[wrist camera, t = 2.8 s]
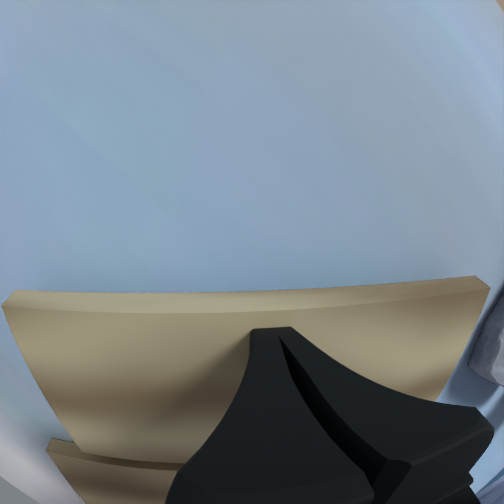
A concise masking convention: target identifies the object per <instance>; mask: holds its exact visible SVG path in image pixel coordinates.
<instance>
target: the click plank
mask: <svg viewBox="0 0 504 504" xmlns="http://www.w3.org/2000/svg"><path fill="white" fill-rule="evenodd" d="M489 290H490V287H489V286H488V285H487V284H485V283H484V282H483V281H481V280H480V279H479V278H478V277H476V276H466V277H457V278H447V279H437V280H426V281H415V282H403V283H391V284H378V285H364V286H349V287H333V288H315V289H295V290H271V291H243V292H201V293H96V292H57V291H31V290H15V291H14V292H13V293H12V294H11V295H10V296H9V298H8V299H7V300H6V301H5V302H4V303H3V304H2V305H1V306H2V309H3V312H4V314H5V317H6V319H7V322H8V324H9V327H10V329H11V331H12V334H13V336H14V338H15V341H16V343H17V345H18V347H19V349H20V351H21V353H22V355H23V358H24V360H25V362H26V364H27V366H28V367H29V369H30V371H31V373H32V375H33V377H34V379H35V381H36V382H37V384H38V386H39V388H40V390H41V391H42V393H43V395H44V396H45V398H46V400H47V401H48V403H49V405H50V406H51V408H52V409H53V411H54V413H55V414H56V416H57V417H58V419H59V420H60V422H61V423H62V425H63V426H64V428H65V429H66V431H67V432H68V433H69V435H70V436H71V438H72V439H73V440H74V442H75V443H76V445H77V446H78V447H79V449H80V450H81V451H82V452H84V453H89V454H95V455H101V456H107V457H114V458H121V459H129V460H138V461H149V462H163V463H186V462H187V461H188V460H189V459H190V458H191V457H192V456H193V455H194V454H195V453H196V452H197V451H198V450H199V449H200V447H201V446H202V445H203V444H204V443H205V441H206V440H207V439H208V437H209V436H210V435H211V433H212V432H213V431H214V430H215V428H216V427H217V426H218V424H219V423H220V421H221V420H222V418H223V416H224V415H225V413H226V411H227V410H228V408H229V406H230V404H231V403H232V401H233V399H234V397H235V395H236V393H237V390H238V388H239V386H240V384H241V381H242V378H243V375H244V372H245V370H246V367H247V363H248V359H249V350H250V331H251V330H252V329H255V328H273V327H288V326H291V327H292V328H294V329H295V330H296V331H298V332H299V333H300V334H301V335H302V336H304V337H305V338H306V339H308V340H309V341H310V342H311V343H313V344H314V345H315V346H317V347H318V348H319V349H321V350H322V351H323V352H325V353H326V354H327V355H329V356H330V357H332V358H333V359H335V360H336V361H338V362H339V363H341V364H343V365H344V366H346V367H347V368H349V369H351V370H352V371H354V372H356V373H358V374H360V375H362V376H364V377H366V378H368V379H370V380H372V381H374V382H376V383H378V384H380V385H383V386H385V387H388V388H390V389H393V390H396V391H399V392H401V393H404V394H407V395H411V396H414V397H417V398H421V399H425V400H430V401H434V402H435V401H436V400H437V398H438V396H439V395H440V393H441V391H442V390H443V388H444V386H445V385H446V383H447V381H448V379H449V378H450V376H451V374H452V372H453V370H454V368H455V367H456V365H457V363H458V361H459V359H460V357H461V355H462V353H463V351H464V349H465V347H466V345H467V343H468V341H469V338H470V336H471V334H472V332H473V330H474V327H475V325H476V323H477V321H478V318H479V316H480V313H481V311H482V308H483V306H484V303H485V301H486V298H487V295H488V293H489Z"/></svg>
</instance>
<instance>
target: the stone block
mask: <svg viewBox="0 0 504 504" xmlns="http://www.w3.org/2000/svg"><path fill="white" fill-rule="evenodd" d="M468 366H469V367H470V368H471V369H472V370H473V371H474V372H475V374H477V375H480V376H482V377H484V378H486V379H487V380H489V381H492V382H494V383H495V384H498V385H500V386H502V387H504V293H503V294H502V296H501V297H500V299H499V301H498V303H497V304H496V306H495V308H494V309H493V311H492V312H491V314H490V315H489V316H488V318H487V319H486V321H485V323H484V325H483V329H482V331H481V334H480V336H479V338H478V341H477V343H476V346H475V348H474V350H473V353H472V355H471V358H470V361H469V365H468Z"/></svg>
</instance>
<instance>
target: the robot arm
mask: <svg viewBox="0 0 504 504" xmlns="http://www.w3.org/2000/svg"><path fill="white" fill-rule="evenodd" d="M493 435H494V427H493V426H492V425H491V424H490V423H489V422H488V420H487V419H486V418H485V417H484V416H483V415H482V414H481V413H480V412H479V411H478V409H477V408H475V407H468V406H459V405H451V404H444V403H438V402H434V401H430V400H425V399H421V398H417V397H414V396H411V395H407V394H404V393H401V392H399V391H396V390H393V389H390V388H388V387H385V386H383V385H380V384H378V383H376V382H374V381H372V380H370V379H368V378H366V377H364V376H362V375H360V374H358V373H356V372H354V371H352V370H351V369H349V368H347V367H346V366H344V365H343V364H341V363H339V362H338V361H336V360H335V359H333V358H332V357H330V356H329V355H327V354H326V353H325V352H323V351H322V350H321V349H319V348H318V347H317V346H315V345H314V344H313V343H311V342H310V341H309V340H308V339H306V338H305V337H304V336H302V335H301V334H300V333H299V332H298V331H296V330H295V329H294V328H292V327H291V326H288V327H273V328H255V329H252V330H251V331H250V350H249V359H248V363H247V367H246V370H245V372H244V375H243V378H242V381H241V384H240V386H239V388H238V390H237V393H236V395H235V397H234V399H233V401H232V403H231V404H230V406H229V408H228V410H227V411H226V413H225V415H224V416H223V418H222V420H221V421H220V423H219V424H218V426H217V427H216V428H215V430H214V431H213V432H212V433H211V435H210V436H209V437H208V439H207V440H206V441H205V443H204V444H203V445H202V446H201V447H200V449H199V450H198V451H197V452H196V453H195V454H194V455H193V456H192V457H191V458H190V459H189V460H188V461H187V462H186V463H185V464H184V465H183V466H182V467H181V468H180V469H179V470H178V471H177V473H176V475H175V477H174V480H173V482H172V484H171V487H170V489H169V492H168V494H167V497H166V500H165V504H504V475H503V476H502V477H501V478H499V479H498V480H497V481H495V482H494V483H493V484H491V485H490V486H488V487H487V488H486V489H484V490H483V491H481V492H480V493H478V494H477V495H475V494H474V492H473V491H472V489H471V488H470V486H469V485H471V484H472V483H473V478H472V476H471V475H470V474H469V471H470V470H471V468H472V467H473V466H474V465H475V463H476V462H477V461H478V460H479V458H480V457H481V456H482V454H483V453H484V452H485V450H486V449H487V447H488V446H489V444H490V443H491V441H492V438H493Z"/></svg>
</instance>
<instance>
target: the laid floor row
mask: <svg viewBox="0 0 504 504" xmlns="http://www.w3.org/2000/svg"><path fill="white" fill-rule="evenodd" d="M46 451H47V453H48V454H49V456H50V457H51V459H52V460H53V462H54V463H55V465H56V466H57V467H58V469H59V470H60V472H61V473H62V474H63V476H64V477H65V478H66V480H67V481H68V482H69V484H70V485H71V486H72V488H73V489H74V490H75V491H76V493H77V494H78V495H79V496H80V497H81V499H82V500H83V501H84V502H85V503H86V504H165V500H166V497H167V494H168V492H169V489H170V487H171V484H172V482H173V480H174V477H175V475H176V473H177V471H178V470H179V469H180V468H181V467H182V466H183V465H184V464H185V463H163V462H149V461H138V460H129V459H121V458H114V457H107V456H101V455H95V454H89V453H84V452H82V451H81V450H80V449H79V447H78V446H77V445H76V443H71V442H67V441H62V440H58V439H54V438H52V439H51V441H50V443H49V445H48V447H47V450H46Z"/></svg>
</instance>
